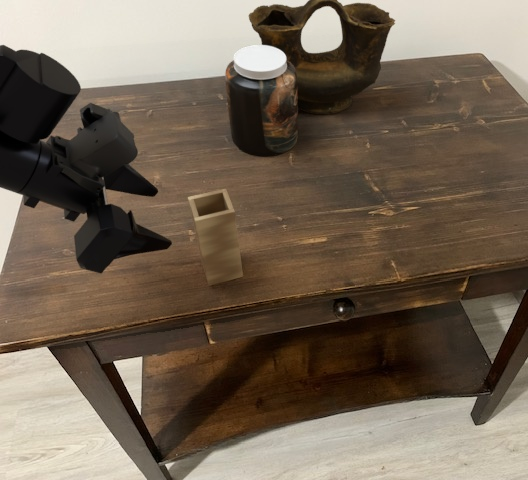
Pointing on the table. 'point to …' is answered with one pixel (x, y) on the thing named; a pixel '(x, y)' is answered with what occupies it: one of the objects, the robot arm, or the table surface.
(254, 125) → the jar
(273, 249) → the table surface
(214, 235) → the square pencil holder
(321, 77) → the pottery vessel
